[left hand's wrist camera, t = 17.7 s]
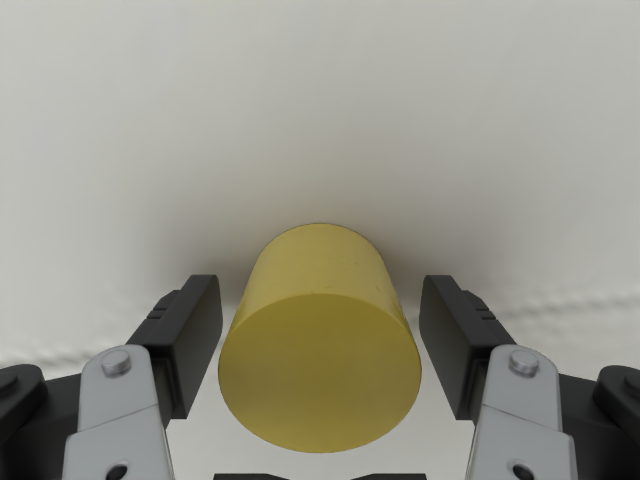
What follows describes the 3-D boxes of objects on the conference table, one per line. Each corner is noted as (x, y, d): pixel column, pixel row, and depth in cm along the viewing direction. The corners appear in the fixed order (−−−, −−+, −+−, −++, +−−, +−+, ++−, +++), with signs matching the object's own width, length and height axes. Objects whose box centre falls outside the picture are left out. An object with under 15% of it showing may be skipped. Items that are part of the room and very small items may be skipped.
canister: (305, 194, 11) (296, 249, 7) (417, 275, 12) (465, 365, 8) (225, 299, 13) (179, 396, 9) (332, 364, 14) (337, 479, 10)
